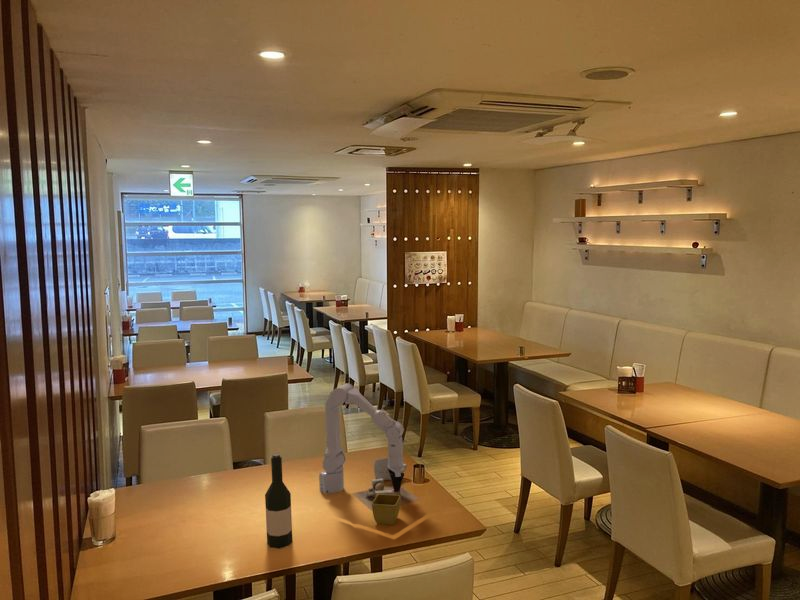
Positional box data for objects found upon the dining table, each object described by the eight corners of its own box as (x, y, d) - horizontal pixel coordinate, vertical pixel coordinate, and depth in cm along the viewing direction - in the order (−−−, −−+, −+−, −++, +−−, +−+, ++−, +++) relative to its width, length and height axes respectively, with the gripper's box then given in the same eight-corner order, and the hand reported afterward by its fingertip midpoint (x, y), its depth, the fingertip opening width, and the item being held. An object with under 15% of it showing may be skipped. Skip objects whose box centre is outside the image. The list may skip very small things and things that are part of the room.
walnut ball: (377, 494, 237) (377, 485, 236) (373, 491, 240) (373, 482, 240) (386, 492, 238) (385, 484, 238) (382, 489, 242) (381, 481, 241)
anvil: (373, 491, 240) (372, 481, 240) (371, 489, 242) (371, 479, 242) (383, 489, 242) (383, 479, 241) (382, 487, 244) (382, 478, 243)
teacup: (370, 483, 252) (369, 464, 252) (378, 473, 263) (378, 455, 262) (402, 485, 248) (402, 466, 248) (409, 476, 259) (409, 458, 258)
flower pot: (396, 530, 208) (395, 505, 208) (372, 528, 210) (371, 503, 210) (401, 519, 217) (401, 495, 216) (378, 517, 219) (377, 493, 218)
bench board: (372, 514, 222) (372, 510, 222) (352, 496, 239) (351, 493, 239) (419, 502, 231) (419, 499, 231) (397, 486, 248) (396, 482, 248)
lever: (366, 497, 233) (366, 482, 233) (366, 494, 236) (366, 479, 236) (400, 495, 234) (400, 481, 233) (400, 492, 237) (399, 478, 237)
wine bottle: (281, 534, 208) (278, 449, 205) (297, 541, 202) (294, 453, 200) (261, 543, 201) (258, 455, 199) (278, 551, 196) (274, 460, 194)
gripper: (408, 459, 228) (409, 494, 229) (403, 447, 243) (403, 480, 244) (389, 461, 227) (390, 496, 228) (385, 448, 242) (386, 482, 243)
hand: (396, 488), depth 236 cm, fingers open, 4 cm apart
